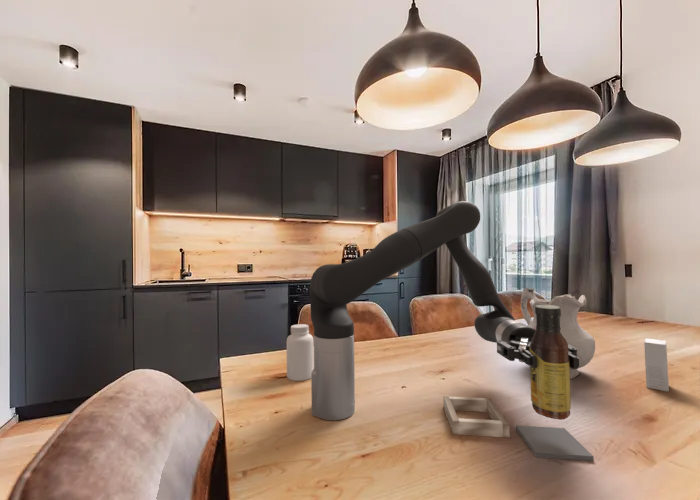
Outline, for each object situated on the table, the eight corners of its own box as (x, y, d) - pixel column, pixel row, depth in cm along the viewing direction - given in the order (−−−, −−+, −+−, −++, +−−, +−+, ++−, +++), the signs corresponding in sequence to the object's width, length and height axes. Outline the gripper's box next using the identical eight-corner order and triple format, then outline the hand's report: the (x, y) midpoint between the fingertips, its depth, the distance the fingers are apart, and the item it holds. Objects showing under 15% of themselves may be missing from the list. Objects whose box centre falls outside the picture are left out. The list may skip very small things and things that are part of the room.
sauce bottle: (534, 401, 62) (531, 302, 63) (572, 411, 58) (569, 304, 59) (528, 415, 57) (525, 306, 58) (569, 426, 53) (566, 309, 54)
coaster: (536, 457, 54) (536, 452, 54) (515, 429, 62) (515, 425, 63) (593, 461, 52) (593, 456, 52) (564, 432, 61) (564, 428, 61)
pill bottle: (281, 377, 92) (281, 325, 93) (302, 370, 98) (302, 322, 99) (297, 384, 87) (297, 329, 88) (319, 376, 93) (319, 325, 93)
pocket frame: (453, 434, 61) (452, 420, 61) (443, 407, 72) (443, 396, 72) (509, 437, 60) (509, 424, 60) (490, 409, 71) (490, 398, 71)
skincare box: (646, 381, 87) (644, 337, 87) (668, 385, 84) (666, 340, 84) (645, 387, 82) (643, 341, 83) (669, 392, 79) (666, 344, 80)
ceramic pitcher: (501, 368, 101) (496, 292, 101) (535, 354, 111) (530, 284, 111) (577, 392, 83) (570, 298, 82) (609, 373, 92) (603, 289, 92)
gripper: (484, 322, 73) (512, 341, 57) (550, 323, 72) (598, 342, 55) (485, 354, 73) (513, 382, 57) (551, 356, 71) (600, 385, 55)
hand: (555, 362), depth 56 cm, fingers closed on sauce bottle, 6 cm apart
